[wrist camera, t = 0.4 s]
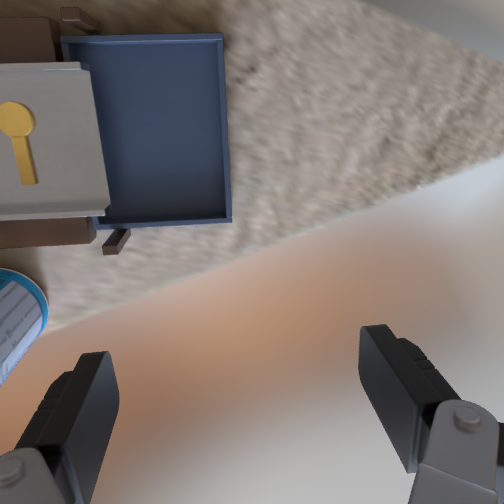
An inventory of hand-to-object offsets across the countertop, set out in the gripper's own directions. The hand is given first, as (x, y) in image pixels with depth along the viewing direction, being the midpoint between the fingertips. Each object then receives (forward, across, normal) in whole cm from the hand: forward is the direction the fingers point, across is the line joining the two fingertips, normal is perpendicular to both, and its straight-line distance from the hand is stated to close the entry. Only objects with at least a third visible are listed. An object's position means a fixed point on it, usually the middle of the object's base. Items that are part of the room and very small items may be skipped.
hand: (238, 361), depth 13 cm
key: (+22, +15, -6) cm, 28 cm away
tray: (+25, +5, -5) cm, 26 cm away
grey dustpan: (+23, +18, -6) cm, 30 cm away
